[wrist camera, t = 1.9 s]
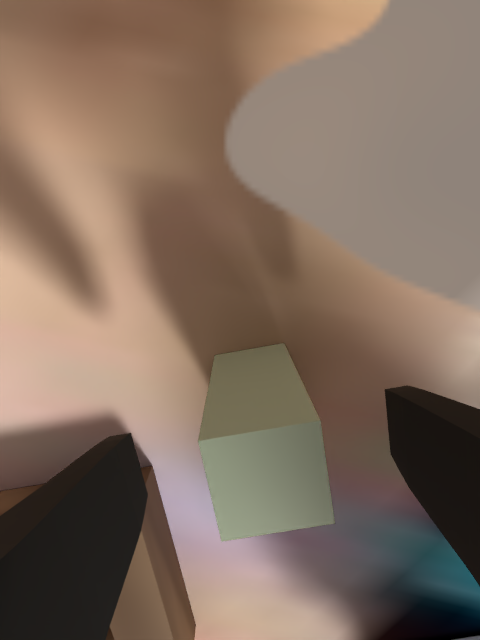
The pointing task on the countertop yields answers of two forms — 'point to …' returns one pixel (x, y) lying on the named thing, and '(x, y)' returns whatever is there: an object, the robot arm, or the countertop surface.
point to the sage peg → (263, 446)
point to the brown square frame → (144, 576)
